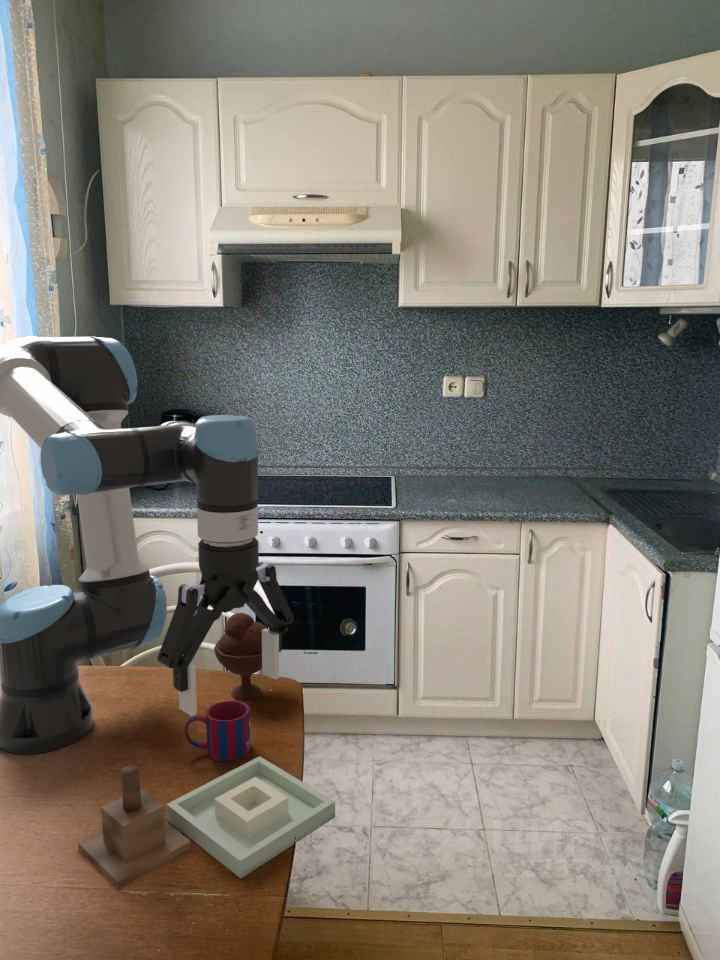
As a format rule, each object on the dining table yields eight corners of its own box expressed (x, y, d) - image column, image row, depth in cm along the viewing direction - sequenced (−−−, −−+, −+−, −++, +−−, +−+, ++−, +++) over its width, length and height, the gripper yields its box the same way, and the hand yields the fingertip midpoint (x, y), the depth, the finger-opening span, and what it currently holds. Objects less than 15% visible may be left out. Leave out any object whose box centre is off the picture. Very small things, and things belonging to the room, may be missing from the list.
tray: (167, 820, 100) (166, 804, 99) (259, 770, 111) (259, 756, 111) (240, 878, 89) (240, 861, 89) (335, 817, 101) (335, 801, 100)
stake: (78, 849, 94) (72, 771, 92) (148, 813, 101) (144, 740, 99) (118, 889, 87) (113, 805, 85) (190, 847, 94) (187, 769, 92)
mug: (250, 760, 114) (248, 720, 113) (183, 765, 113) (181, 723, 111) (251, 738, 120) (250, 699, 119) (188, 741, 119) (186, 702, 118)
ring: (247, 839, 95) (246, 821, 95) (214, 815, 100) (214, 798, 99) (288, 814, 100) (288, 797, 100) (255, 792, 105) (255, 776, 104)
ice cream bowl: (210, 707, 130) (207, 627, 127) (224, 679, 141) (221, 604, 138) (270, 709, 130) (268, 628, 127) (279, 680, 141) (278, 605, 138)
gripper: (159, 567, 82) (165, 740, 87) (319, 526, 100) (318, 671, 105) (123, 552, 87) (131, 717, 92) (282, 515, 105) (283, 654, 110)
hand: (231, 692), depth 98 cm, fingers open, 13 cm apart
